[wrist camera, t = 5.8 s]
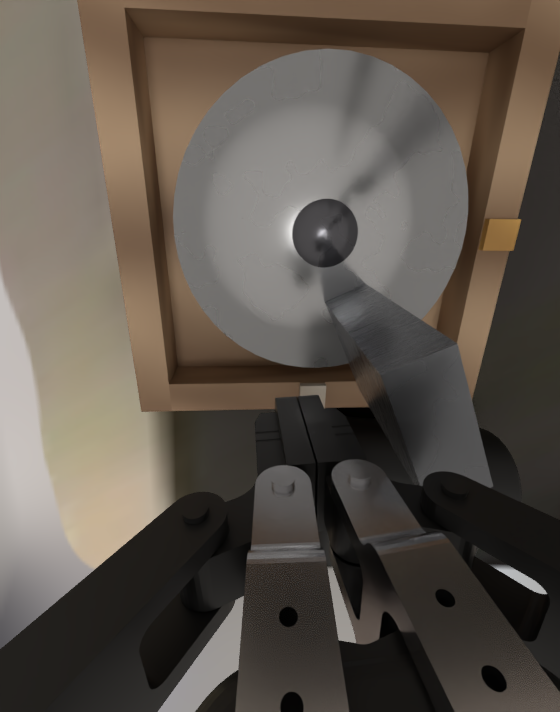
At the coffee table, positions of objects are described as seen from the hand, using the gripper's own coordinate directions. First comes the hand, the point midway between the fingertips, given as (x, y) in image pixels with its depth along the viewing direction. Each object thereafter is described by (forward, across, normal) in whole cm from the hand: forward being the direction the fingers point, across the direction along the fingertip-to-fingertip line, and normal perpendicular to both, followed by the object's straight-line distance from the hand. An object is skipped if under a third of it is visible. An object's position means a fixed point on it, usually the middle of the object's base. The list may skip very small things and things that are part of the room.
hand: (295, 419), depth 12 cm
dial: (+6, -2, -5) cm, 8 cm away
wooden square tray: (+8, -2, -6) cm, 10 cm away
